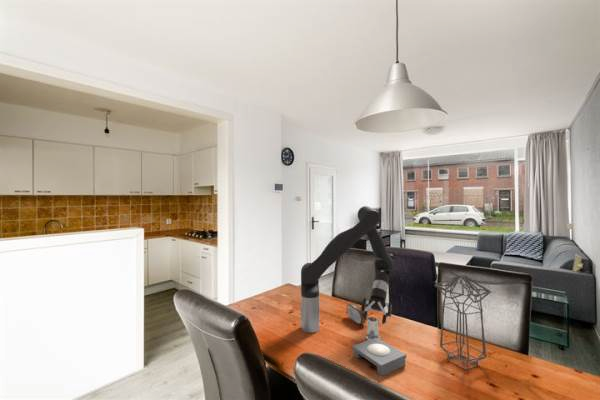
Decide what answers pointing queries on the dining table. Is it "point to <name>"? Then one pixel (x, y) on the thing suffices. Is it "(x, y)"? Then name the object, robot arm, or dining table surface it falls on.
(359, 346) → the stand
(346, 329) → the dining table surface
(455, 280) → the geometric lantern
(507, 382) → the dining table surface
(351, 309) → the tin
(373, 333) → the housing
